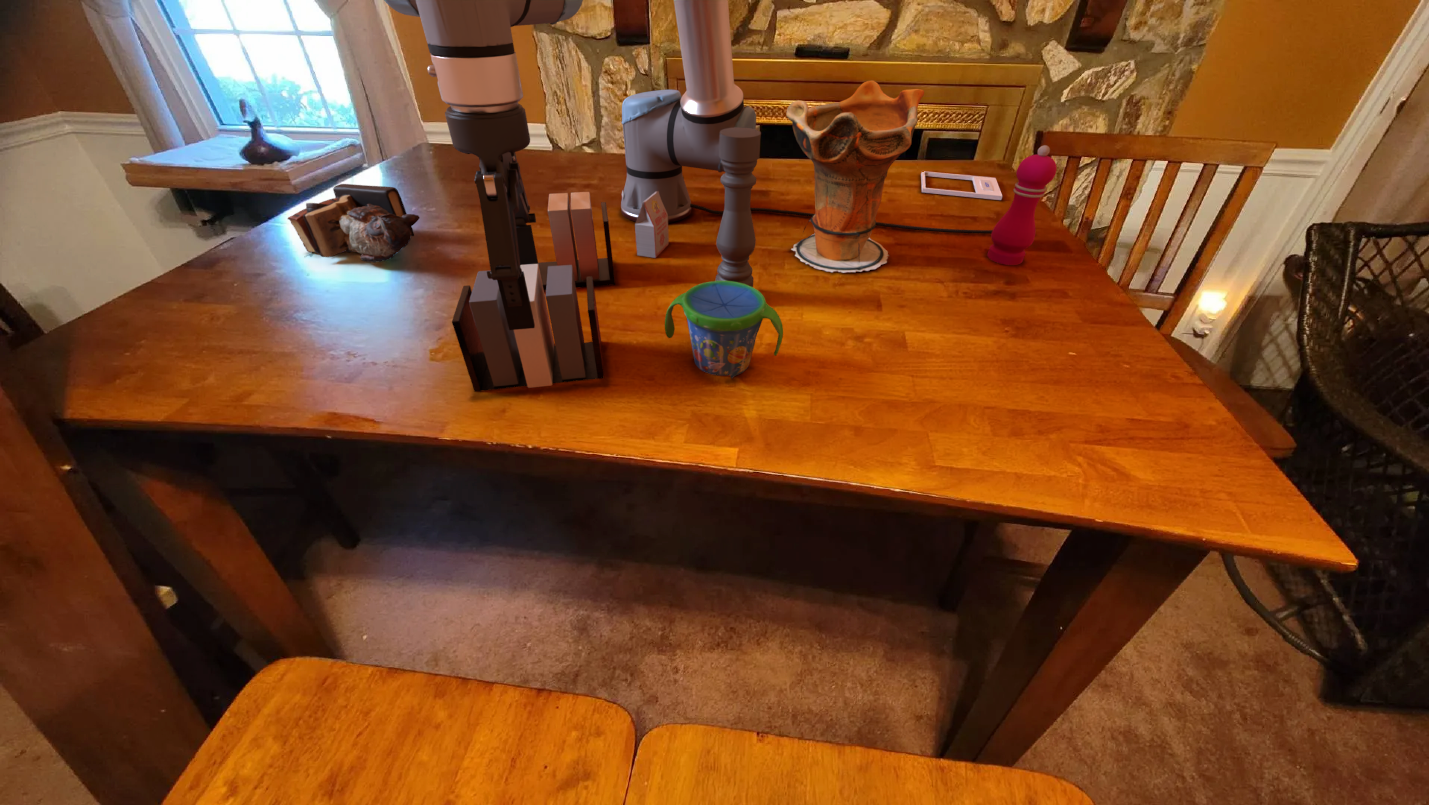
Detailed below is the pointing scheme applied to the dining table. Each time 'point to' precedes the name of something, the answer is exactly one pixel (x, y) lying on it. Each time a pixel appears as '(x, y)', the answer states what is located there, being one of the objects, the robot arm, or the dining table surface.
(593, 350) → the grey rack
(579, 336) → the grey book
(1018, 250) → the pepper mill
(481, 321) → the grey book
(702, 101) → the robot arm
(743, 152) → the candle holder
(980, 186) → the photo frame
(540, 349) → the white book
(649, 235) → the milk carton
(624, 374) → the dining table surface
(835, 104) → the decorative vase
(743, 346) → the snack cup
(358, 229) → the bookend
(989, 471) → the dining table surface
